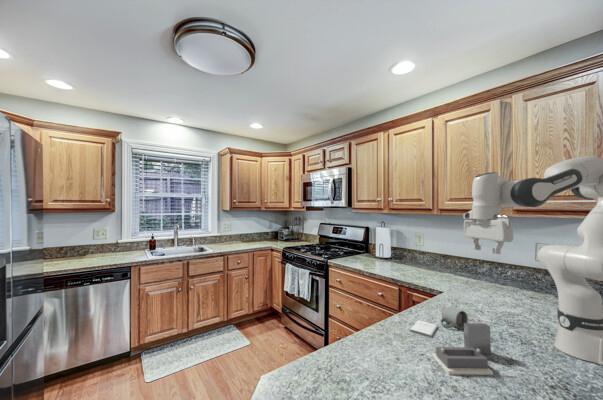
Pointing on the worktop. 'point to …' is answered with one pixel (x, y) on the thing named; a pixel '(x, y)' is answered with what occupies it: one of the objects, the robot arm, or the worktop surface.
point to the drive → (477, 337)
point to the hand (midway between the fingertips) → (486, 251)
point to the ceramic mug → (453, 318)
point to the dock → (462, 360)
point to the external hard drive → (424, 328)
